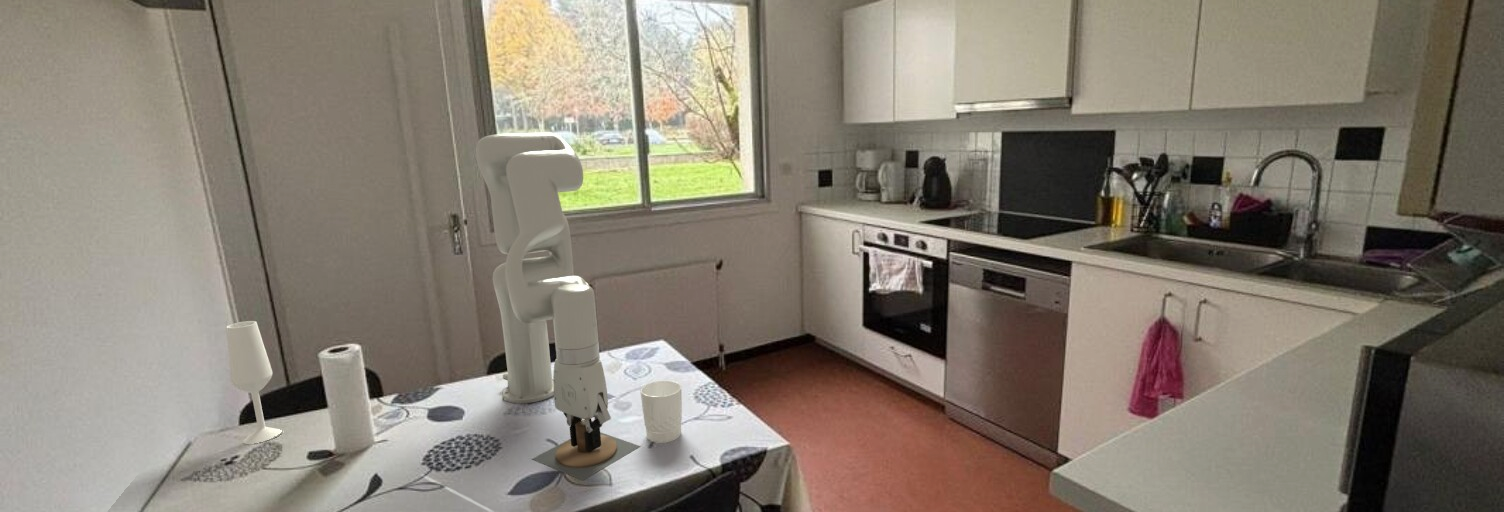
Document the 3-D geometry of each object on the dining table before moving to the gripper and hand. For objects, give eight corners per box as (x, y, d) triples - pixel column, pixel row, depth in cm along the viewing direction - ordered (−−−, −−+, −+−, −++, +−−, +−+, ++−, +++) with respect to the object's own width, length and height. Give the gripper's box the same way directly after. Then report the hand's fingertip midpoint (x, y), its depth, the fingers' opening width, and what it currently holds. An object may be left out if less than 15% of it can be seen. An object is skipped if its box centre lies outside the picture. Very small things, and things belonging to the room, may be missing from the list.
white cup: (676, 447, 120) (673, 397, 118) (637, 444, 121) (634, 395, 119) (689, 428, 127) (686, 381, 125) (652, 425, 129) (649, 379, 127)
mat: (531, 460, 116) (531, 458, 116) (590, 430, 127) (590, 428, 127) (582, 482, 108) (582, 480, 108) (640, 448, 120) (640, 446, 120)
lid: (543, 457, 116) (540, 428, 115) (589, 433, 125) (586, 406, 124) (584, 473, 110) (581, 443, 109) (629, 447, 119) (626, 418, 118)
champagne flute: (281, 438, 128) (260, 325, 124) (240, 447, 125) (216, 331, 121) (285, 426, 134) (265, 317, 130) (245, 434, 131) (223, 323, 126)
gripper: (531, 351, 116) (541, 443, 119) (593, 367, 106) (601, 467, 110) (564, 339, 122) (573, 427, 125) (625, 354, 112) (632, 449, 116)
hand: (586, 445), depth 118 cm, fingers open, 3 cm apart
